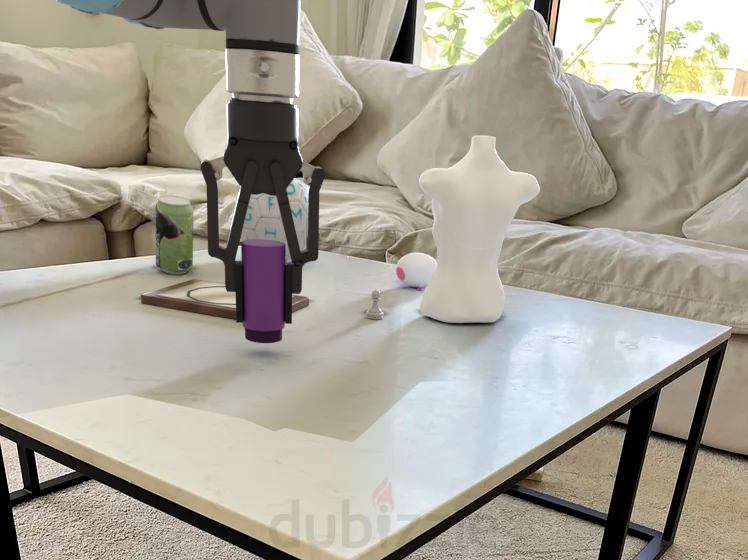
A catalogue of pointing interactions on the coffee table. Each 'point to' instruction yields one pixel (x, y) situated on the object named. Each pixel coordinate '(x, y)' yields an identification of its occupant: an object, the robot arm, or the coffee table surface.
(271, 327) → the dot marker
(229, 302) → the drawing board
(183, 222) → the beverage can
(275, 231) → the puzzle ball
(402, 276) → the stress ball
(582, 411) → the coffee table surface
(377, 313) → the pawn
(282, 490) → the coffee table surface
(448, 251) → the torso sculpture
